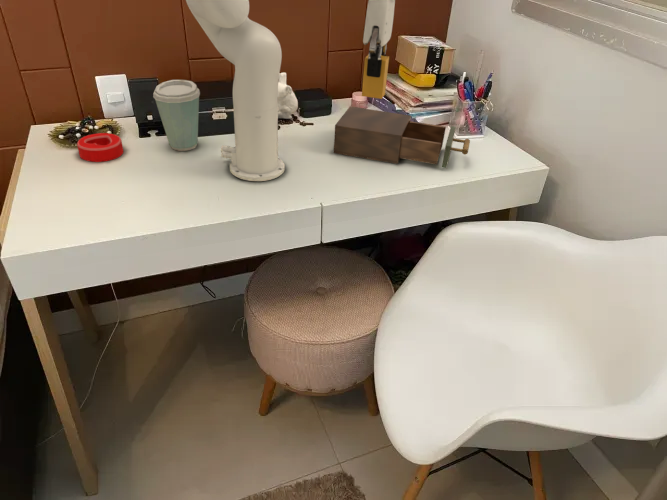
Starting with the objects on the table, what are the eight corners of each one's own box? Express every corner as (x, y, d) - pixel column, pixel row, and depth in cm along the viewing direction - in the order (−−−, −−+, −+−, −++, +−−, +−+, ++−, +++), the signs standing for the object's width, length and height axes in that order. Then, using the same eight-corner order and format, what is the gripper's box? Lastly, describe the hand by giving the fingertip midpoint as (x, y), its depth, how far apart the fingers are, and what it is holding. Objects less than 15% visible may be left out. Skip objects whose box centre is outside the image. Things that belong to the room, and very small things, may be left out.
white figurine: (268, 112, 152) (268, 70, 146) (290, 110, 155) (290, 69, 148) (277, 123, 146) (277, 80, 139) (300, 121, 149) (301, 78, 142)
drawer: (467, 150, 136) (472, 129, 133) (463, 171, 126) (468, 149, 123) (393, 138, 140) (396, 117, 137) (383, 157, 130) (386, 135, 126)
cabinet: (407, 142, 140) (411, 115, 136) (397, 164, 129) (401, 135, 125) (347, 132, 144) (349, 106, 139) (333, 153, 132) (335, 124, 128)
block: (361, 96, 128) (364, 58, 123) (365, 91, 131) (368, 53, 126) (381, 99, 127) (385, 60, 122) (385, 94, 130) (389, 56, 125)
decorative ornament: (126, 144, 129) (124, 132, 128) (119, 161, 122) (117, 148, 120) (84, 144, 128) (82, 132, 126) (75, 162, 120) (72, 149, 118)
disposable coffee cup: (195, 157, 126) (189, 95, 117) (152, 152, 127) (143, 90, 118) (211, 140, 134) (206, 81, 126) (170, 135, 135) (163, 76, 127)
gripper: (375, -18, 123) (368, 62, 133) (358, -7, 109) (351, 81, 120) (406, -15, 121) (397, 66, 132) (393, -3, 108) (383, 86, 118)
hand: (375, 72), depth 126 cm, fingers closed on block, 4 cm apart
